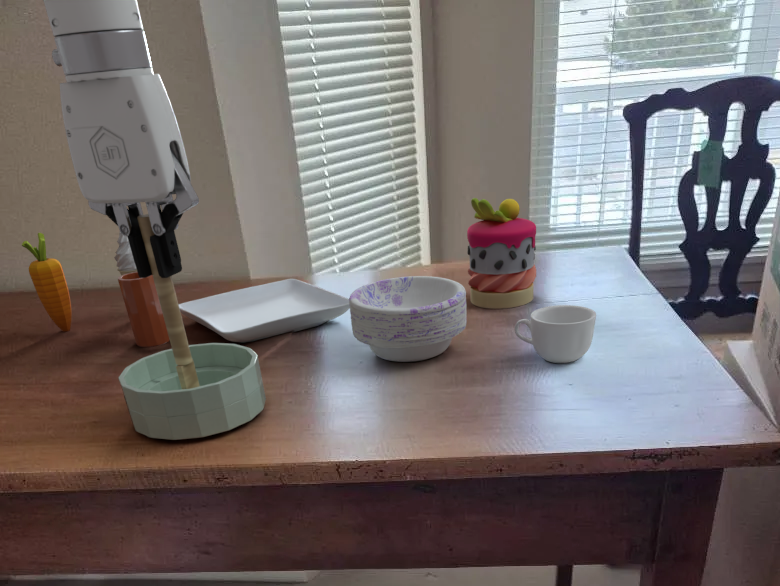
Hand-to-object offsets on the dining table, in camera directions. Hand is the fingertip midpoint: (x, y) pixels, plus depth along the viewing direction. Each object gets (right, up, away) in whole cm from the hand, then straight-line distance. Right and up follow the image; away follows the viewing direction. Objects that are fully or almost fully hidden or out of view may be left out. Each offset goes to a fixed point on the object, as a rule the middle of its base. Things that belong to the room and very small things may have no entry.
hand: (160, 273), depth 74 cm
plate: (+3, +6, +39) cm, 40 cm away
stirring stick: (+1, -12, +8) cm, 15 cm away
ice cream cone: (-18, +10, +47) cm, 52 cm away
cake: (+40, +10, +40) cm, 58 cm away
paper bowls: (+26, -2, +24) cm, 35 cm away
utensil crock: (-13, +2, +35) cm, 37 cm away
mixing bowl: (+1, -13, +11) cm, 17 cm away
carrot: (-30, +6, +43) cm, 53 cm away
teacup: (+44, -4, +18) cm, 48 cm away
